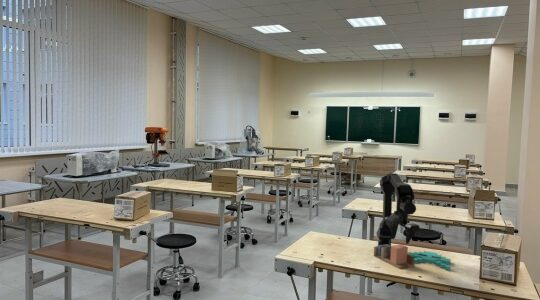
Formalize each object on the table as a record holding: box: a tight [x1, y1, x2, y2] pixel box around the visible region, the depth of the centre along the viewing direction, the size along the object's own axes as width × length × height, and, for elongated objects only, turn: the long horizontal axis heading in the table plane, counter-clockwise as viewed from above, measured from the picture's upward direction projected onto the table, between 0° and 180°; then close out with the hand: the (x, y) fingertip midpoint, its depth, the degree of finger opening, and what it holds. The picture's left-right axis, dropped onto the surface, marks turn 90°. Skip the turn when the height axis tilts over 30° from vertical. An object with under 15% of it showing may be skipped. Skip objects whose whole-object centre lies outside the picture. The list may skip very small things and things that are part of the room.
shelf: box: [373, 244, 415, 270], centre depth 198 cm, size 9×19×6 cm, turn 24°
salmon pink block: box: [390, 244, 409, 264], centre depth 194 cm, size 7×4×8 cm, turn 114°
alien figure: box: [408, 250, 452, 272], centre depth 201 cm, size 20×2×20 cm
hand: (400, 240), depth 193 cm, fingers open, 9 cm apart
